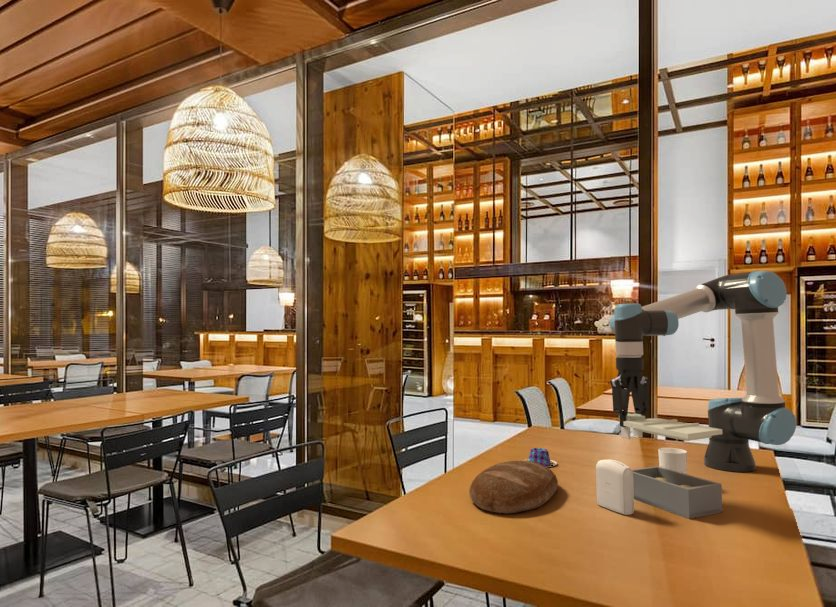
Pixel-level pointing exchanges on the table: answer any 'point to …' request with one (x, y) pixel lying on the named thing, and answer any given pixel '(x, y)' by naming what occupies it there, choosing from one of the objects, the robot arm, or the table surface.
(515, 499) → the bread
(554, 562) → the table surface
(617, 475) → the photo printer
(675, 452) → the white cup
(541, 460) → the patterned hat
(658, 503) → the tub
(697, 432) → the lid
